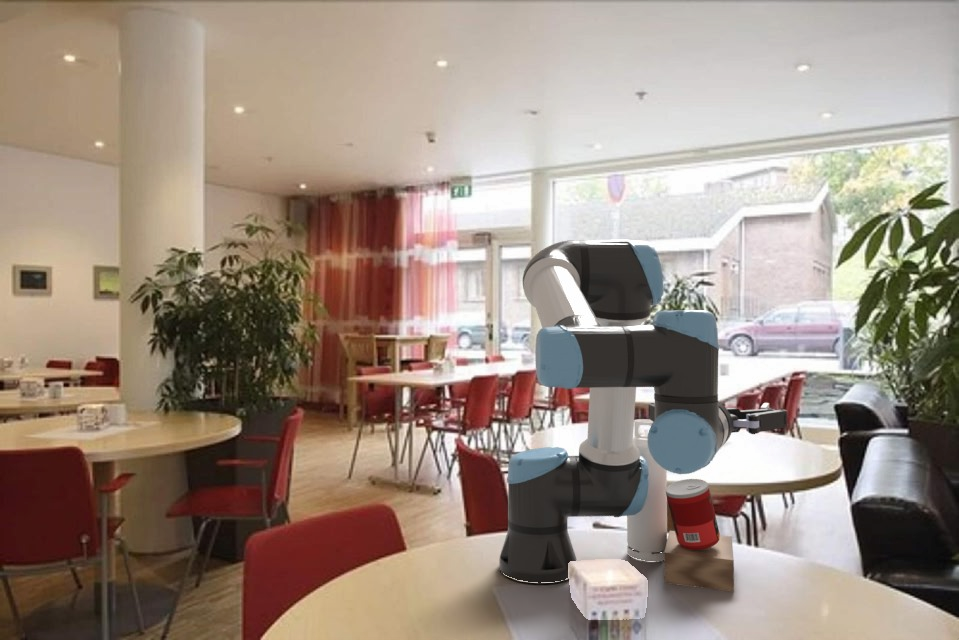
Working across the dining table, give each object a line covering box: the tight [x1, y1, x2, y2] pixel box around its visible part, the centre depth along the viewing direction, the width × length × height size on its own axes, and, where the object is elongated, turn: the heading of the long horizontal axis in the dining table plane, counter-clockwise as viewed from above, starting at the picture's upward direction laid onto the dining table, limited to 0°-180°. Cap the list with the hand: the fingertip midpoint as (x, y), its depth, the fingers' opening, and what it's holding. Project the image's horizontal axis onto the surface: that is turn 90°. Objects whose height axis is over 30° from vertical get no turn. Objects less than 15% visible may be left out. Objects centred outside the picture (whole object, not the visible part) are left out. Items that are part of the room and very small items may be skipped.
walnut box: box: [664, 530, 735, 592], centre depth 126 cm, size 12×14×6 cm
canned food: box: [666, 478, 721, 550], centre depth 124 cm, size 8×8×11 cm
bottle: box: [626, 418, 668, 563], centre depth 136 cm, size 8×8×28 cm
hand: (721, 409), depth 107 cm, fingers open, 13 cm apart
